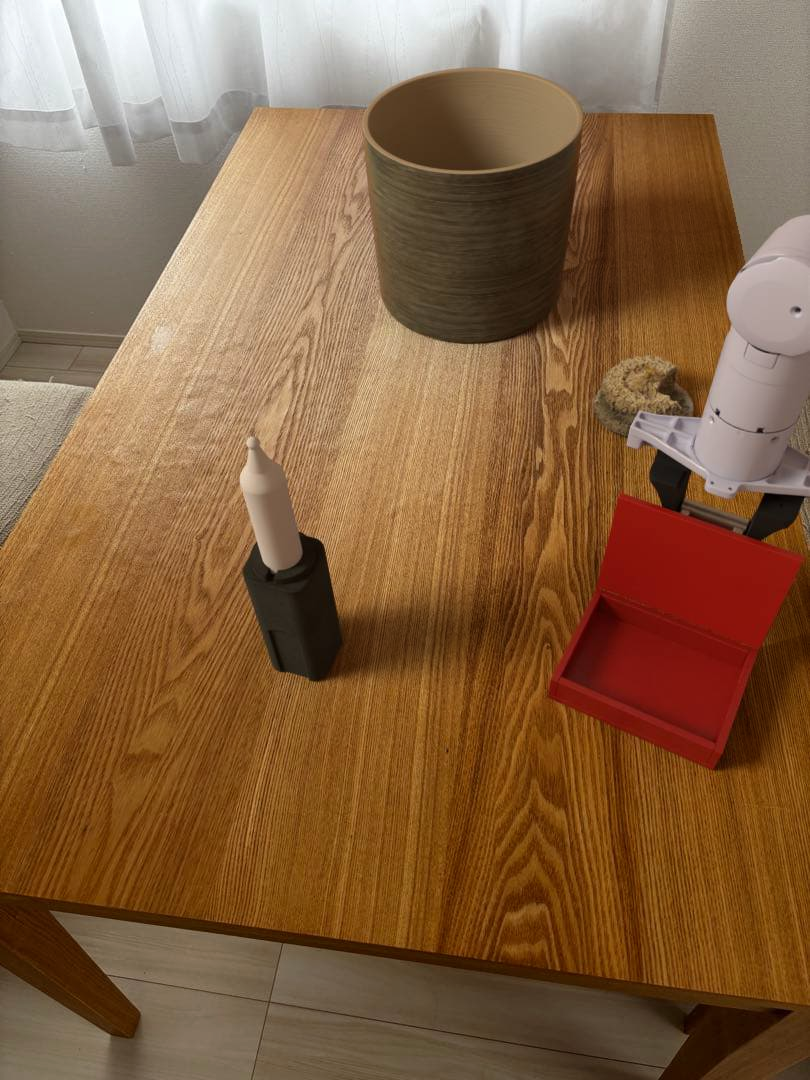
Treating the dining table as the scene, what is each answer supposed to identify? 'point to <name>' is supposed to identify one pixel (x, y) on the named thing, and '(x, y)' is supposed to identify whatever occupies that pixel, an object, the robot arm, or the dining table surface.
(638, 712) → the red box base
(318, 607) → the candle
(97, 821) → the dining table surface
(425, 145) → the planter
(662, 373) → the cake
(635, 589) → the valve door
